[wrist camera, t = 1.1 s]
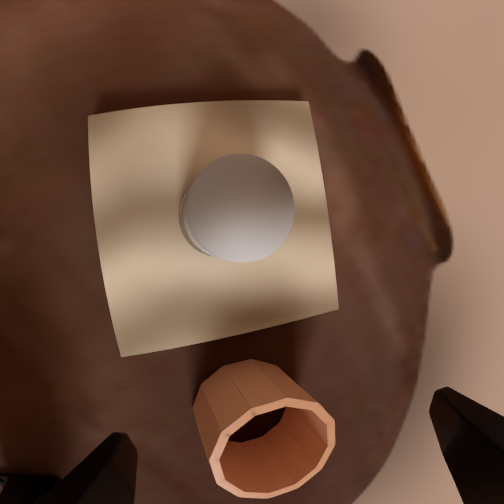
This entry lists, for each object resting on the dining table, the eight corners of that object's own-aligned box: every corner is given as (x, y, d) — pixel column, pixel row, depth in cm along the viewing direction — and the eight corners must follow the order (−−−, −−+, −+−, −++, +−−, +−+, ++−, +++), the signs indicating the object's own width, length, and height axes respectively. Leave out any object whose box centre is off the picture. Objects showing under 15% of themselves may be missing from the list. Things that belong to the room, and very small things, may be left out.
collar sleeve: (296, 430, 22) (335, 472, 16) (206, 456, 20) (225, 510, 14) (287, 349, 21) (332, 381, 16) (183, 373, 19) (197, 421, 13)
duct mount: (327, 304, 22) (387, 325, 16) (123, 348, 18) (112, 395, 12) (298, 109, 21) (349, 69, 15) (92, 124, 17) (70, 76, 11)
